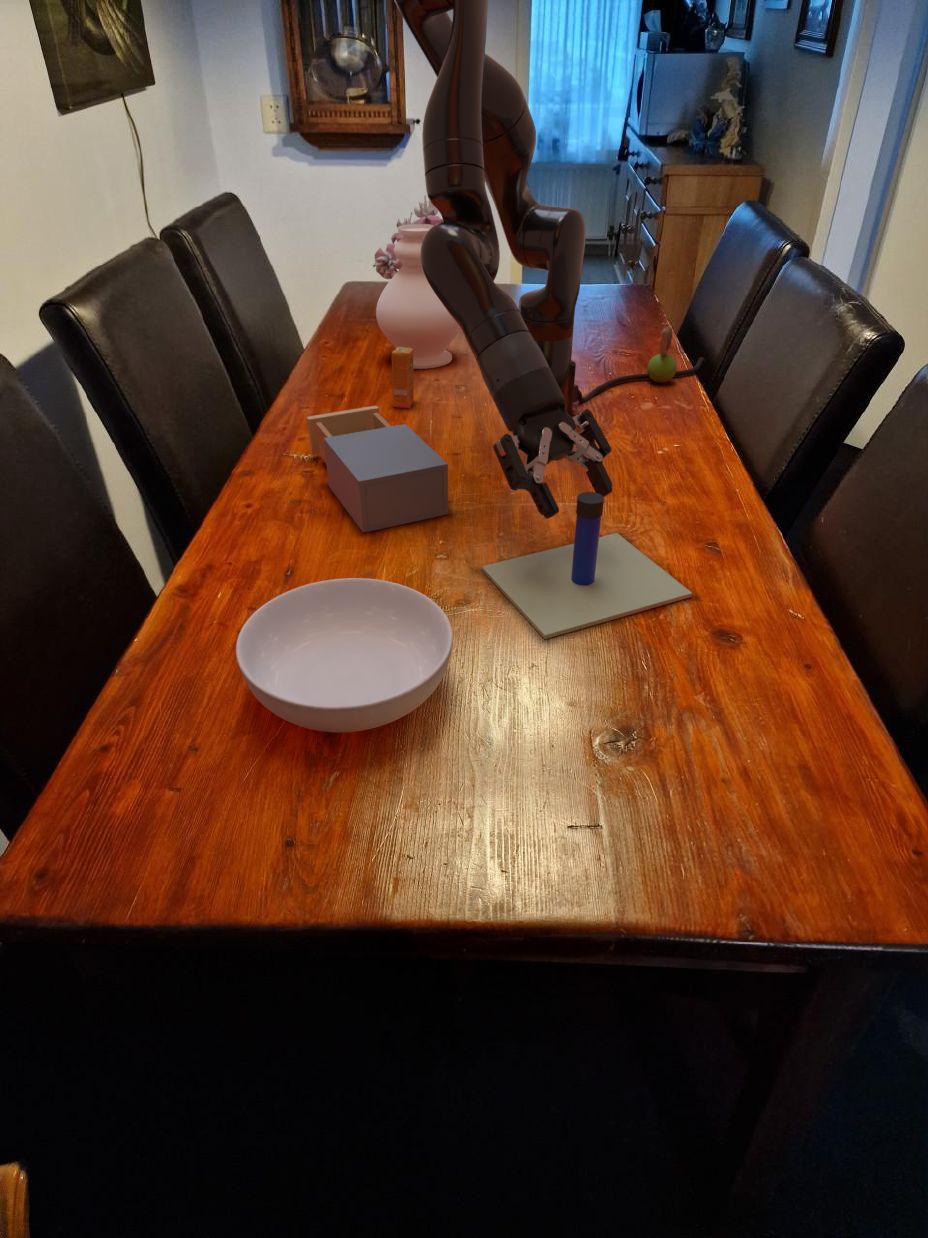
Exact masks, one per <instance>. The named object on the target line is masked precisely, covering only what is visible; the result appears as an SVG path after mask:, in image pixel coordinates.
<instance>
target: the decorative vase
mask: <svg viewBox="0 0 928 1238" xmlns="http://www.w3.org/2000/svg"><path fill="white" fill-rule="evenodd" d="M433 226H434V225H429V224H412V223H411V224H409V225H402V226H399V227H398V228H397V233H400V234H402V235H403V237H402V238H401V239H400V240H399V241H398V242H397V241H396V243H395V244H396V245H395V247H394V254H395V256H396V258H397V259H398V260H399V261H400V262H401V263H402V264H403V266H402V267H401V268H400V269H397V271H398V272H397V273H396V274H395V275H394V276H393V277H392V279H389V280H388V282H387V284H386V285H385V287H384V288H383V290H382V291H381V294H380V296H379V298H378V300H377V303H376V308H375V317H376V318H375V319H376V324H377V325H378V327H379V329H380V331H381V332H382V334H383V335H384V336H385V338H386V339H387V340H388V341H389V343H391V344H392V345H393V347H394V348H395V349H396V347H406V348H411V349H413V369H419V370H421V369H423V370H424V369H434V368H440V367H444V366H445V365H448V364H449V363H451V362H452V361H453V355H452V353H451V352H450V351H448V350H447V348H448V347H449V346H450V345H451V343H452V342H453V341H454V339H455V338H456V337H457V335H458V334H459V332H461V331H460V330H462V329H461V327H460V326H459V325H458V323H457V322H456V321H455V320H454V318H453V317H452V316H451V315H450V314H449V312H448V311H447V309H446V308H445V306H444V305H443V304H442V302H441V301H440V300H439V298H438V297H437V295H436V294H435V292H434V291H433V289H432V288H431V286H430V284H429V283H428V281H427V279H426V277H425V274H424V271H423V268H422V264H421V256H420V252H421V245H422V241H423V239H424V237H425V235H426V233H427V232H428V231H429V230H430V229H431V228H432V227H433Z"/></svg>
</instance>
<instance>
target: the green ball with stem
mask: <svg viewBox="0 0 928 1238" xmlns="http://www.w3.org/2000/svg"><path fill="white" fill-rule="evenodd" d="M661 326H662V327H664V328H662V329H661V331H660V340H659V353H657V354H655V355H654V356H652V357H651V359H650V360H649V362H648V363H647V367H646V369H647V374H648V375H649V377H650V379H651V380H652V381H653V382H655V383H658V384H664V383H668V382H669V381H670V380H672V379H673V378H674V377H675V376H674V375H675V373H676V371H677V369H678V368H677V366H678V365H677V362H676V360H675V358H674V357H673V356H672V355H670V354H669V349H670V347H671V344H672V340H673V328H672V327H671V326H669V323H665V322H662V323H661Z"/></svg>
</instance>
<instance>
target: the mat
mask: <svg viewBox="0 0 928 1238" xmlns="http://www.w3.org/2000/svg"><path fill="white" fill-rule="evenodd" d="M573 552H574V543H570V544H566V545H563V546H558V547H554V548H550V549H546V550H542V551H541V550H540V551H538V552H533V553H529V554H526V555H521V556H517V557H513V558H509V559H505V560H501V561H497V562H494V563H489V564H485V565H481V571H482V572H483V574H485V575H486V577H487V578H488V579H489V580H490V581H491V583H492V584H493V585H495V586H496V588H497V589H498V590H499V591H500V592H501V593H502V594H503V595H504V597H505V598H506V599H507V600H508V602H510V603H511V605H513V606H514V607H515V609H516V610H517V611H518V612H519V614H521V615H522V616H523V618H525V620H526V621H527V622H528V623H529V624H530V625H531V626H532V627H533V628H534V629H535V631H537V633H538V634H539V635H540V636H541V637H542V638H543V639H544V640H549V639H551V638H554V637H558V636H561V635H564V634H569V633H572V632H575V631H578V630H582V629H586V628H589V627H592V626H596V625H600V624H603V623H606V622H610V621H613V620H617V619H621V618H623V617H627V616H631V615H634V614H638V613H640V612H644V611H649V610H650V609H655V608H658V607H661V606H665V605H669V604H671V603H675V602H679V601H682V600H686V599H690V598H692V597H693V592H692V591H691V590H690V589H688V588H687V587H686V586H684V585H683V584H682V583H680V581H678V580H677V579H676V578H675V577H674V576H672V575H670V573H668V572H667V571H666V570H665V569H663V568H662V567H661V566H659V565H658V564H657V563H655V562H654V560H652V559H650V558H649V557H648V556H647V555H645V553H643V552H642V551H640V550H639V549H638V548H636V547H635V546H634V545H633V544H632V543H631V542H629V541H628V540H627V539H626V538H625V537H623V536H622V535H620V534H619V533H618V532H615V533H611V534H606V535H603V536H599V542H598V551H597V560H596V570H595V579H594V582H593V583H592V584H590V585H578V584H575V583H574V582H573V581H572V580H571V574H572V563H573Z"/></svg>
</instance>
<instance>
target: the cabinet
mask: <svg viewBox="0 0 928 1238" xmlns="http://www.w3.org/2000/svg"><path fill="white" fill-rule="evenodd" d="M323 439H324V447H325V457H326V463H325V465H326V466H325V467H326V473H327V474H326V475H327V483H328V485H327V486H328V488H329V489H330V490H331V492H332V493H333V494H334V496H335V497H336V499H338V501H339V503H340V504H341V505H342V506H343V508H344V509H345V510H346V512H347V513H348V515H349V516H350V517H351V518H352V520H353V521H354V523H355V524H356V525H357V527H358V528H359V529H360V531H361V532H362V533H363V534H364V533H369V532H373V531H378V530H383V529H387V528H392V527H397V526H400V525H405V524H410V523H414V522H420V521H423V520H428V519H433V518H438V517H442V516H446V515H449V464H448V462H446V461H445V459H443V458H442V456H440V455H439V454H438V453H437V452H436V451H435V450H434V449H433V448H432V447H431V446H429V445H428V444H427V443H426V442H425V441H424V440H423V439H422V438H421V437H420V436H419V435H418V434H417V433H416V432H415V431H414V430H413V429H411V428H410V426H408V425H407V424H406V423H401V424H396V425H391V426H390V427H384V428H379V429H373V430H367V431H361V432H356V433H350V434H344V435H338V436H333V437H327V438H323Z"/></svg>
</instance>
